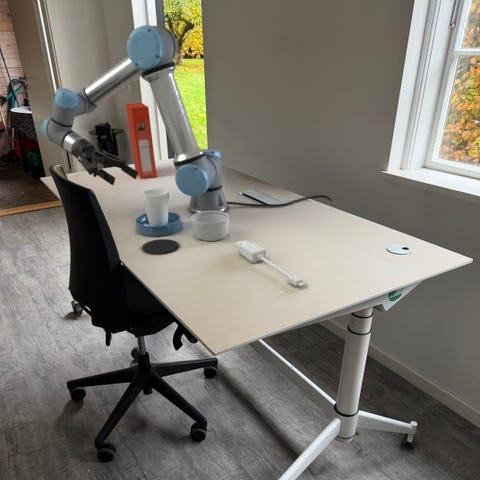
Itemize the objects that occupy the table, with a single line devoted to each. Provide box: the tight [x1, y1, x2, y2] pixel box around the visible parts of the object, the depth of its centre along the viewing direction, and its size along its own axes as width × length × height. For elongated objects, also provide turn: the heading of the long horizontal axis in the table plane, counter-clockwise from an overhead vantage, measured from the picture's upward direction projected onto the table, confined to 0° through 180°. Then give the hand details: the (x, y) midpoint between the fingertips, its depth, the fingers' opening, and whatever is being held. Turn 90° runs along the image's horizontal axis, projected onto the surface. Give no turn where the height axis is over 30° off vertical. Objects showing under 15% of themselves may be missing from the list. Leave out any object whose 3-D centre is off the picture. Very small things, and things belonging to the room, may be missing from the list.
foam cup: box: [141, 187, 170, 226], centre depth 168 cm, size 10×9×13 cm
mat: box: [141, 238, 179, 255], centre depth 156 cm, size 12×12×1 cm
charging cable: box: [234, 239, 306, 287], centre depth 141 cm, size 5×32×3 cm, turn 32°
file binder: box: [125, 102, 158, 180], centre depth 229 cm, size 8×17×32 cm, turn 20°
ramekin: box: [190, 211, 230, 242], centre depth 162 cm, size 13×13×7 cm
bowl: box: [134, 211, 182, 237], centre depth 170 cm, size 16×16×4 cm
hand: (125, 178), depth 168 cm, fingers open, 13 cm apart
